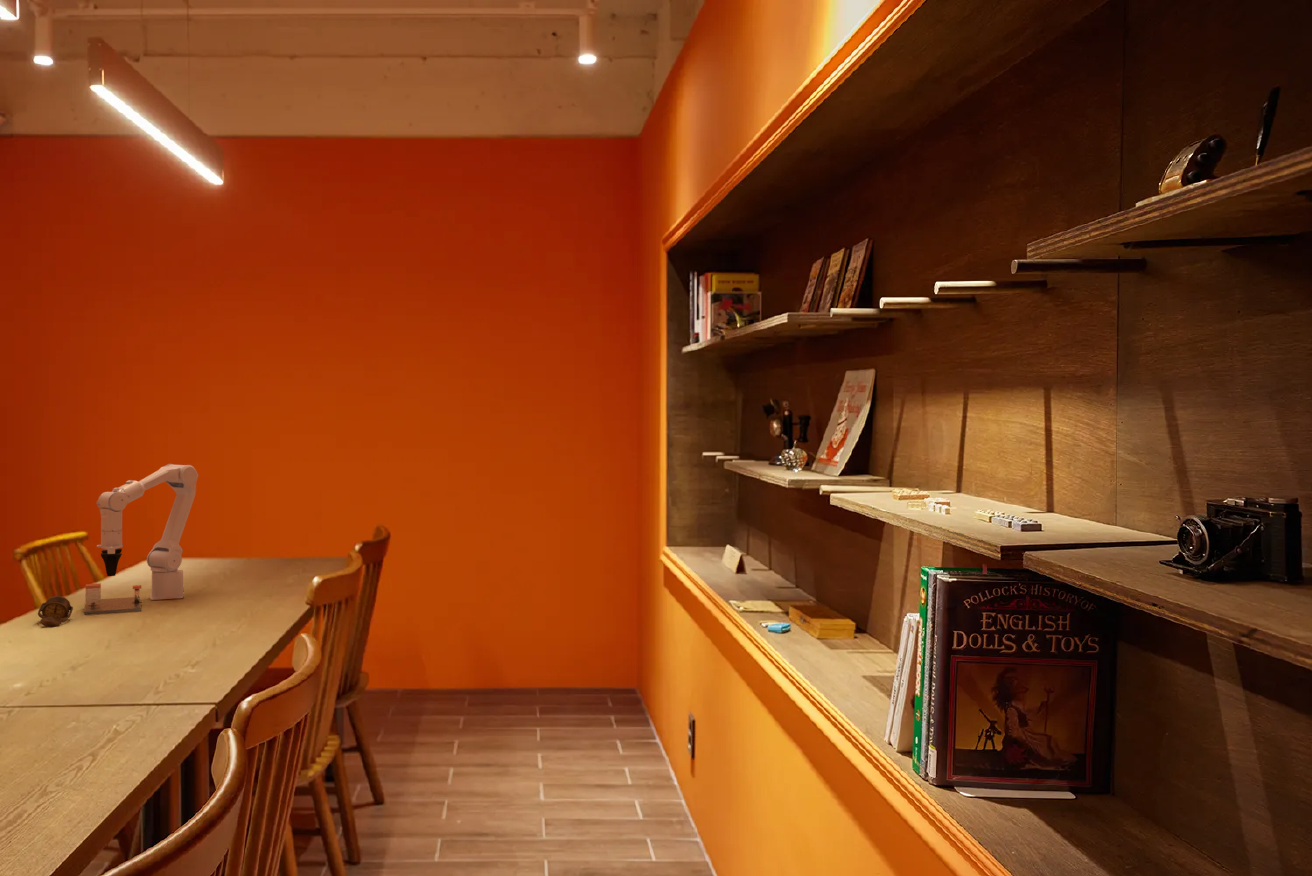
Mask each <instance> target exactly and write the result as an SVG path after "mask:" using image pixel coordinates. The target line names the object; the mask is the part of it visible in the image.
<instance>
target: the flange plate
mask: <svg viewBox="0 0 1312 876" xmlns="http://www.w3.org/2000/svg"><path fill="white" fill-rule="evenodd" d="M140 589H142V585H141V584H138V585H132V590H134V593H133V594H134V596H132V597H129V596H128V597H117V598H116V597H115V598H101V602H95V604H94V605H91V602H87V603H85V606H84V611H83V614H84V615H83V616H92V615H105V614H119V613H123V614H124V613H135V612H137V613H138V612H142V603H143V601H141V596H140Z"/></svg>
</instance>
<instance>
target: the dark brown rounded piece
mask: <svg viewBox="0 0 1312 876" xmlns="http://www.w3.org/2000/svg"><path fill="white" fill-rule="evenodd" d="M73 610H74V607H73V606H72V605H71V602H70V600H68V598H66V597H65V596H61V595H54V596H51V597H48V599H47V600H46V602H42V603H41V604H40V607H39V609H38V611H37V615H38V618H41V619H40V620H39V623H40V624H41V625H43V626H44V627H46V628H47V627H48V628H53V627H58V626H60V625H61V624H62V623H63V622H65V621H67V620H69V619H70V617H71V614H72V612H73Z"/></svg>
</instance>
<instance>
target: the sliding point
mask: <svg viewBox="0 0 1312 876" xmlns="http://www.w3.org/2000/svg"><path fill="white" fill-rule="evenodd" d="M101 599H102V584H101V583H85V604H86V603H87V602H91V605H94V604H95V602H101Z"/></svg>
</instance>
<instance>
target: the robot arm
mask: <svg viewBox="0 0 1312 876" xmlns="http://www.w3.org/2000/svg"><path fill="white" fill-rule="evenodd" d="M198 479H199V473H198V472H197V470H196V468H195V467H194V466H193V465H191V464H186V465H185V464H184V465H183V464H173V463H168V464H166V465H164V466H161V467H160V468H159V469H158V470H155V472H152V473H151V474H149V475H147V476H146V477H144V478H142V479H140V480H139V481H137V480H132V479H129V480H127V481H125V484H123V485H120V486H119V487H114V488H112V491H104V492H102V493H101V494H100V495H99V496H98V499H97V501H96V506H97V507H98V508H99V514H100V544H97V545H96V548H98V549H99V548H100V549H102V550H100V551H101V553H100V557H101V558H102V561H103V563H104V567H105V574H106V575H107V577H115V576H116V573H117V569H118V565H119V562H120V561H119V560H120V559H121V557H122V555H123V553H122V551H123V550H122V549H123V547H124V545H123V510H125V508H126V507H127V505H128V504H130V503H131V502H133V501H135V500H138V499H139V498H141V497H143V496H144V494H145V491H146V490H149V489H151V488H153V487H155V486H158V485H159V484H163V483H166V484H167V485H168V486H169V487H170V488H171V489H172V490H173V491H174V493H175V498H174V502H173V504H172V507H171V509H170V513H169V516H168V519H167V521H166V524H165V527H164V530H163V533H162V536H161V539H159V541H157V542H156V543H155V544H153V547H152V549H151V550H150V551H149V553H148V554H147V556H146V563H147V566H148V567H150V571H151V594H150V595H149V597H150V598H149V599H150V601H157V600H171V599H183V598H184V592H185V587H184V570H183V569H179V568H180V567H181V565H182V561H183V560H182V559H183V558H182V554H183V548H182V546H181V545H180V541H181V538H182V536H183V533H184V529H185V527H186V523H187V521H188V517H189V516H190V512H191V509H192V506H193V503H194V501H195V500H194V499H195V497H196V493H197V481H198Z"/></svg>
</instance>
